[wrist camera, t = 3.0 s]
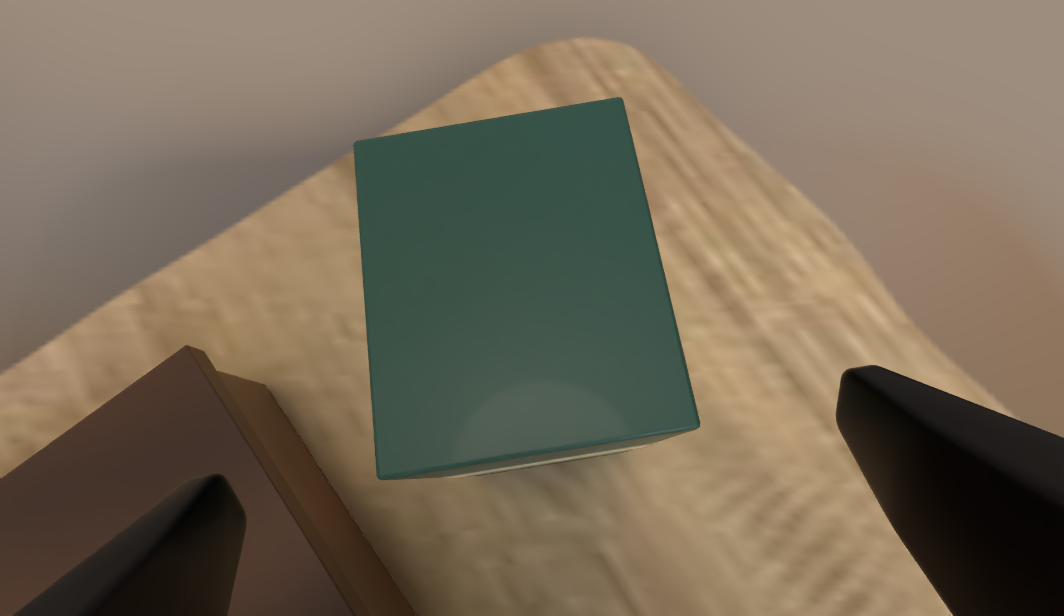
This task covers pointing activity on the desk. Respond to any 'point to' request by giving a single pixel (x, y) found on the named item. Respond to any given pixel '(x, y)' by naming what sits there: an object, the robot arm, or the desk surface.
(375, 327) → the tea packet
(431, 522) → the desk surface
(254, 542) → the walnut box
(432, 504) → the desk surface
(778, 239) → the desk surface
